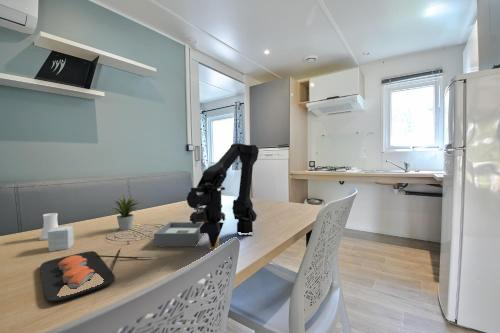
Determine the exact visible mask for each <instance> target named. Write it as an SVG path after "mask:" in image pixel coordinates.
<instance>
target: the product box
mask: <svg viewBox="0 0 500 333" xmlns="http://www.w3.org/2000/svg"><path fill="white" fill-rule="evenodd" d="M74 238H75V236H74V225H67V226H65V225H64V226H58V227H54V228H53V229H51V230H50V231H49V232H48V240H47V244H48V251H49V252H55V251H61V250H69V248H71V247H72V246H73V244H74V243H75V242H74Z"/></svg>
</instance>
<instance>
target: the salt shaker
mask: <svg viewBox="0 0 500 333" xmlns="http://www.w3.org/2000/svg"><path fill="white" fill-rule="evenodd" d="M58 216H59V215H58V212H51V213H50V212H49V213H44V214H42V218H43V228H42V231H41V234H40V236H39V237H38V238H39V240H40V241H48V232H49V231H50V230H51V229H53V228H54V227H59V222H58Z"/></svg>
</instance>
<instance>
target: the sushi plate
mask: <svg viewBox="0 0 500 333" xmlns="http://www.w3.org/2000/svg"><path fill="white" fill-rule="evenodd" d="M119 253H120V254H121V251H120V250H119V249H118V252H117V254H116V255H102V254H101V255H100V254H98V252H96V251H95V250H94V251H93V250H92V251H91V250H90V251H84V252H80V253H75V254H70V255H67V256H61V257H58V258H54V259H50V260H46V261H44V262H43V263H40V264H41V265H40V267H39V268H40V269H39V270H40V276H41V282H42V288H43V294H44V298H45V300H46V302H49V303H54V302H55V303H56V302H60V301H64V300H66V299H67V300H68V299H70V298H73V297H74V298H75V297H76V296H80V295H83V294H86V293H88V292H92V291H94V290H95V291H96V290H97V289H98V290H99V289H100V288H103V287H105V286H108V285H110V284H113V283H114V282H115V280H116V276H115V274H114V272H113V271H114V267H115V266H116V263H117V261H118V258H119V259H133V260H134V259H135V260H138V259H137V258H150V256H149V257H147V256H145V257H143V256H120V254H119ZM102 258H115V259H114V262H113V265H112V267H111V269H110V267H109V266H108V265H107V263H106V262H105V261H104V260H103V259H102ZM95 273H97V274H99V275H100V276H101V277H102V278H103V279H104V280H103V281H104V282H103V283H102V284H100V285H97V286H95V287H91V288H89V289H86V290H83V291H80V292H77V293H74V294H70V295H66V296H61V297H59V296H57V294H58V293H59V291H60V289H61V288H62V287H63V286H64V285H67V286H68V287H69V288H70V289H77V288H78V287H80V286H81V285H83V284H84V283H85V282H87V281H90V280H91V279H90V278H92V277H93V275H94V274H95Z"/></svg>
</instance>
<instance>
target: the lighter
mask: <svg viewBox="0 0 500 333" xmlns="http://www.w3.org/2000/svg"><path fill="white" fill-rule="evenodd" d="M204 207H205V206H201V207H196V208H193V212H192V213H194V212H198V211H201V210H204ZM199 222H204V220H202V221H199ZM207 222H208V221H207Z"/></svg>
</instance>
